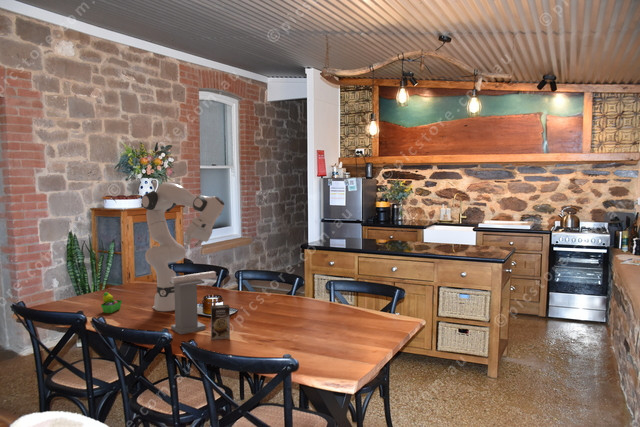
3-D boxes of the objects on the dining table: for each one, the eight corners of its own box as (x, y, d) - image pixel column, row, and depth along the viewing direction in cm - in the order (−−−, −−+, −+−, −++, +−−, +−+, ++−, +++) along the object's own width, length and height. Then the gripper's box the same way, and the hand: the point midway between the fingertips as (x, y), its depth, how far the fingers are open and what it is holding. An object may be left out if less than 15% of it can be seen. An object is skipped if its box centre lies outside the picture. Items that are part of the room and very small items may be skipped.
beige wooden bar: (213, 276, 275) (213, 271, 275) (215, 277, 273) (215, 272, 272) (171, 282, 260) (171, 277, 260) (173, 283, 258) (173, 278, 257)
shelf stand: (195, 323, 275) (194, 277, 273) (205, 329, 266) (204, 281, 264) (171, 328, 266) (169, 281, 264) (180, 334, 257) (179, 285, 255)
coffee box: (211, 340, 249) (211, 308, 247) (211, 336, 255) (210, 305, 254) (230, 338, 251) (229, 307, 250) (229, 334, 257) (228, 303, 256)
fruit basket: (111, 313, 294) (111, 295, 293) (98, 313, 296) (97, 294, 295) (123, 308, 305) (122, 290, 304) (110, 307, 307) (109, 289, 306)
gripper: (209, 224, 286) (197, 245, 286) (191, 217, 267) (177, 239, 267) (217, 229, 284) (205, 250, 284) (199, 223, 265) (186, 245, 264)
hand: (191, 245), depth 275 cm, fingers open, 8 cm apart
